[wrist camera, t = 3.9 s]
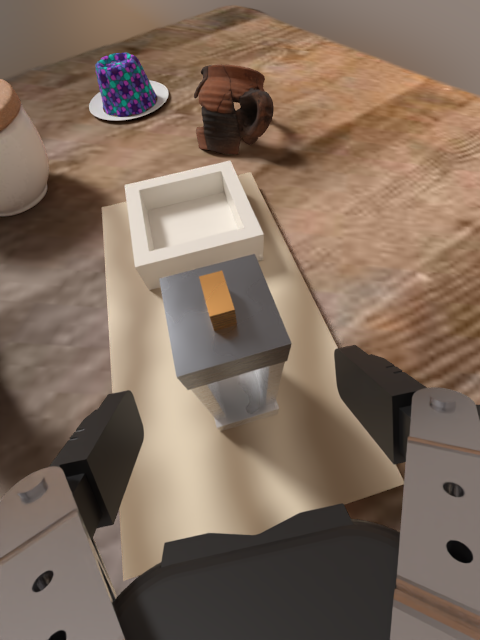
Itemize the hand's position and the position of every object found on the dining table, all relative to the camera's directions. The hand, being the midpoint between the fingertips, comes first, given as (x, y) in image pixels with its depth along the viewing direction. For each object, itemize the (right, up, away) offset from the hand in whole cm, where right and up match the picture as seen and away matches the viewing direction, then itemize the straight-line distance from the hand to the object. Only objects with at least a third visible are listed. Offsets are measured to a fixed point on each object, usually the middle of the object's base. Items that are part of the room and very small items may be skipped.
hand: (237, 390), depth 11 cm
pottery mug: (0, +26, +25) cm, 37 cm away
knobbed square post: (0, -2, +8) cm, 8 cm away
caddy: (-4, +11, +15) cm, 19 cm away
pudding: (-17, +35, +32) cm, 50 cm away
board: (-2, +3, +13) cm, 13 cm away
